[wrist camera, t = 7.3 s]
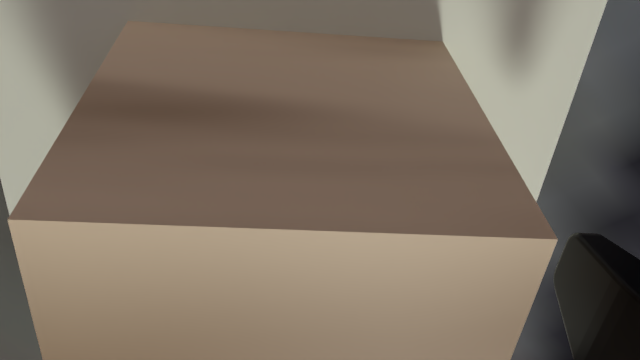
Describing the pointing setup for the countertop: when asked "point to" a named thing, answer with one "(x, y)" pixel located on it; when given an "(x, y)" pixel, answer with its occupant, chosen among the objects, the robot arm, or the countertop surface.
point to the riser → (311, 17)
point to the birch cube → (278, 206)
